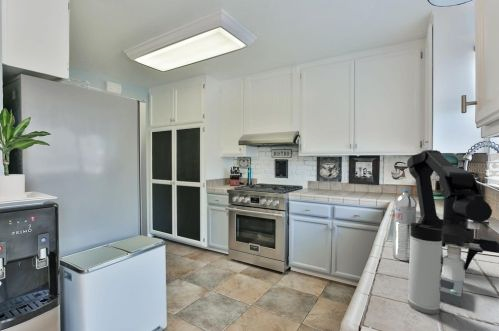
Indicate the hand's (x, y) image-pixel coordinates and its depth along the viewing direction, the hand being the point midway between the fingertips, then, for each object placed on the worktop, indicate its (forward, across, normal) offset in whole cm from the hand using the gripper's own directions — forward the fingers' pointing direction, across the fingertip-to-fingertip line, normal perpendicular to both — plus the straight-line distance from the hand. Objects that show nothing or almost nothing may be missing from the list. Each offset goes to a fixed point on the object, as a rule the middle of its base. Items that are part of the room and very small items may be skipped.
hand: (453, 267), depth 75 cm
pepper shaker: (+4, 0, 0) cm, 4 cm away
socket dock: (+4, -2, -11) cm, 12 cm away
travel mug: (+4, -4, -23) cm, 24 cm away
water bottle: (+4, -15, +10) cm, 19 cm away
